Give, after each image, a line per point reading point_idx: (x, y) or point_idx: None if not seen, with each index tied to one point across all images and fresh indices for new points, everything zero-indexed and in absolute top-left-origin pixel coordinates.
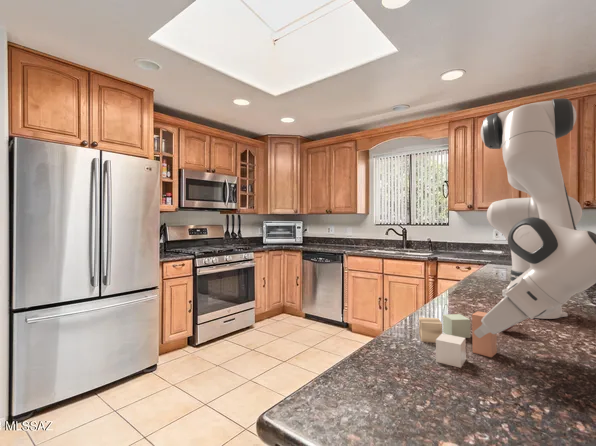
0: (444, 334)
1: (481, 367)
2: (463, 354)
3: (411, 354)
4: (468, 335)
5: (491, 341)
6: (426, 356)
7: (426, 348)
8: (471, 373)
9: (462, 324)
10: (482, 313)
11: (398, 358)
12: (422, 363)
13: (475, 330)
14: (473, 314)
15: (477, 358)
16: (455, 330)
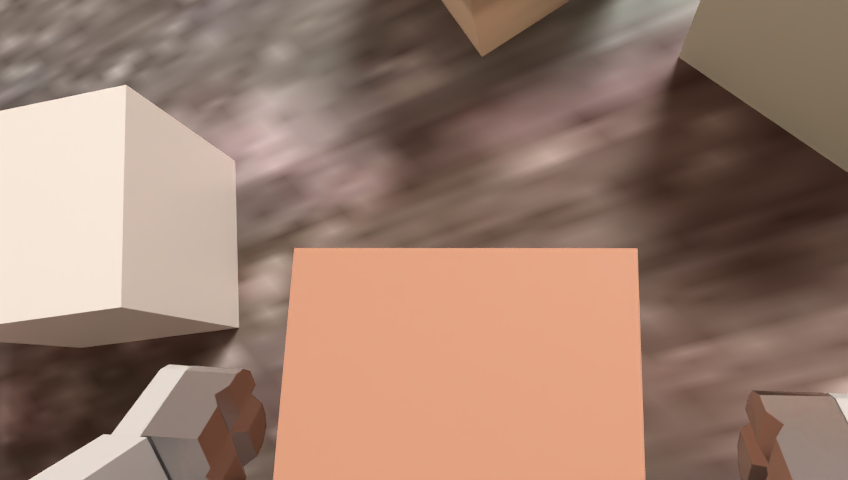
0: (112, 115)
1: None
2: (120, 331)
3: (114, 23)
4: (838, 150)
5: None
6: None
7: (279, 33)
8: (31, 433)
9: (835, 46)
10: (512, 378)
11: (14, 6)
12: None
13: (150, 385)
14: (309, 267)
15: None
16: (728, 36)
